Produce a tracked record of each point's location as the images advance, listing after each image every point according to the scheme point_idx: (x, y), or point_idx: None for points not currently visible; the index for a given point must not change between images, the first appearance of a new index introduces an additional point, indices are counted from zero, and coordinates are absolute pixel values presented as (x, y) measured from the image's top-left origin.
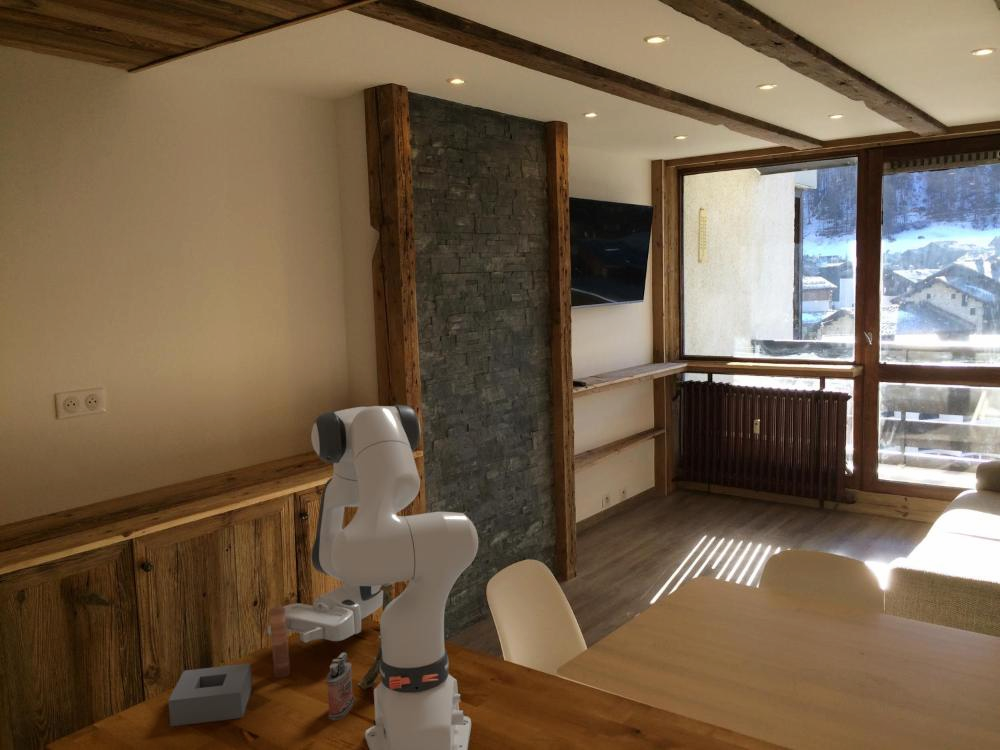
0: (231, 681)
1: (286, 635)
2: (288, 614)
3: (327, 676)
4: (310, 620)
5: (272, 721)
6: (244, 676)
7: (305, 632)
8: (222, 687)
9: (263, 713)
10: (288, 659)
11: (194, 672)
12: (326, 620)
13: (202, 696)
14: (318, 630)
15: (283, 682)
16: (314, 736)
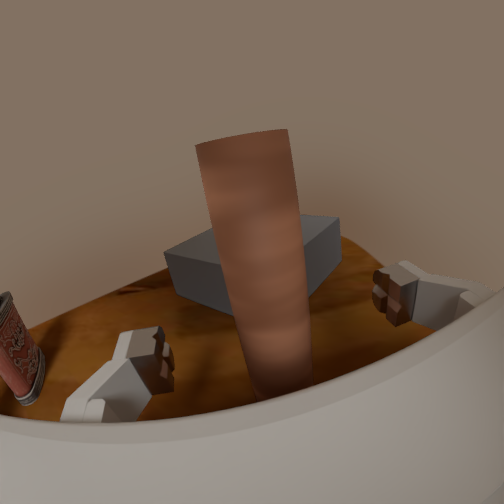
0: (215, 248)
1: (233, 297)
2: (499, 309)
3: (8, 296)
4: (205, 418)
5: (122, 313)
6: (209, 260)
7: (135, 342)
8: (208, 240)
9: (153, 314)
10: (256, 386)
11: (316, 223)
12: (40, 467)
13: (211, 228)
14: (77, 396)
15: (228, 385)
16: (49, 325)
